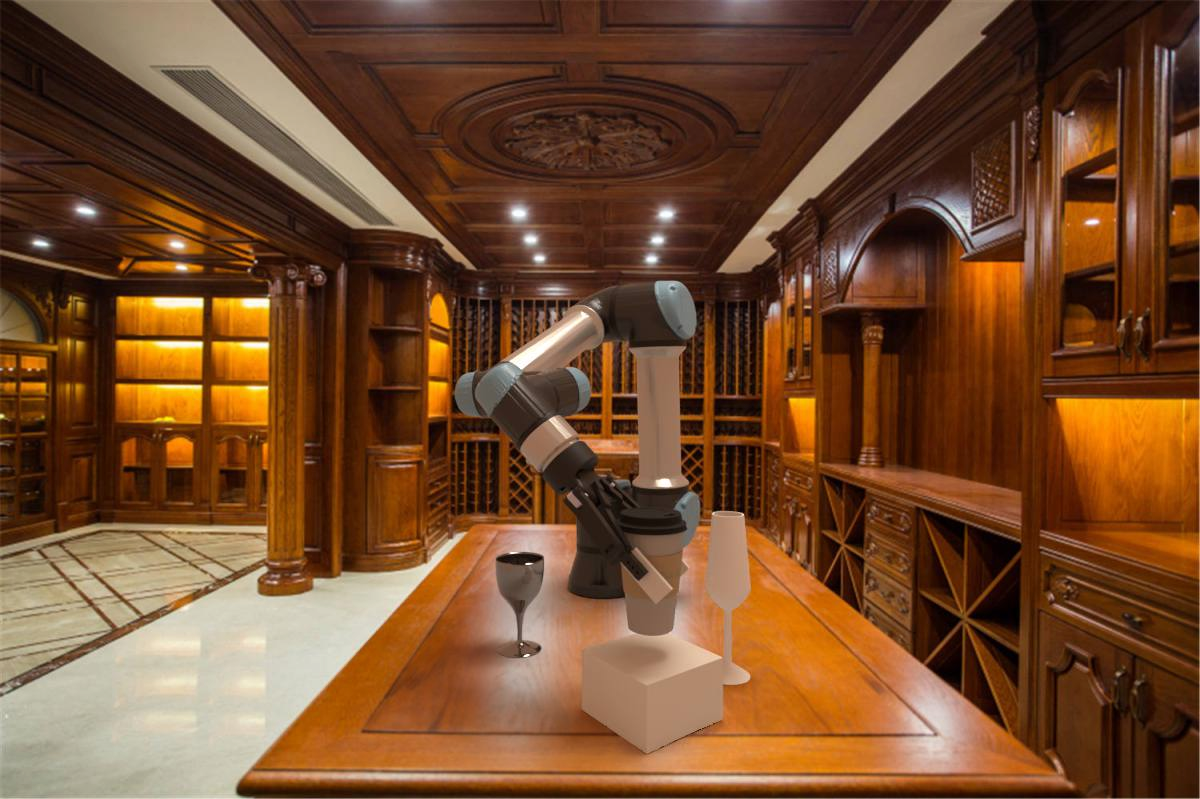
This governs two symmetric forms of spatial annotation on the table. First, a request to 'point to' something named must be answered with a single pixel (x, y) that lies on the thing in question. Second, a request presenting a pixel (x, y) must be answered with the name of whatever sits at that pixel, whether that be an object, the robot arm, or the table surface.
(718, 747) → the table surface
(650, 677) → the riser
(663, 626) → the coffee cup
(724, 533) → the champagne flute
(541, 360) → the robot arm
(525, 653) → the wine glass
